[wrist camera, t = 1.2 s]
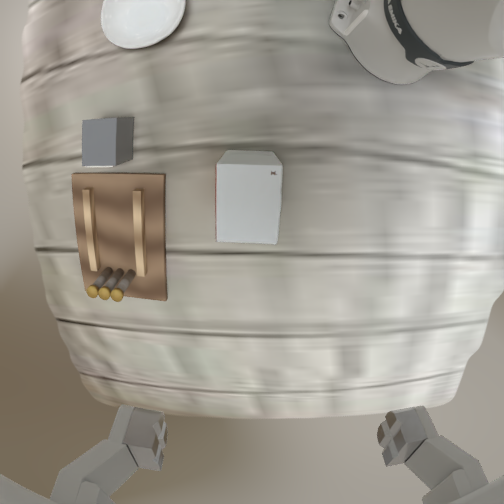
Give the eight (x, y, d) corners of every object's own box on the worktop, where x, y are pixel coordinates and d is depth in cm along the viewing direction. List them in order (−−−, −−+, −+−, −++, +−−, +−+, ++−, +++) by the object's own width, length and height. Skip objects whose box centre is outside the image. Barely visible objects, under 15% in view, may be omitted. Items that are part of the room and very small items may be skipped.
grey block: (103, 118, 36) (82, 120, 31) (134, 117, 36) (116, 117, 31) (102, 160, 39) (82, 167, 33) (132, 160, 39) (115, 167, 34)
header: (74, 172, 39) (46, 184, 32) (165, 173, 40) (147, 185, 33) (87, 287, 47) (67, 312, 40) (167, 297, 48) (155, 327, 41)
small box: (225, 149, 39) (214, 161, 27) (274, 150, 39) (284, 163, 27) (225, 207, 42) (215, 243, 30) (270, 208, 42) (279, 245, 30)
